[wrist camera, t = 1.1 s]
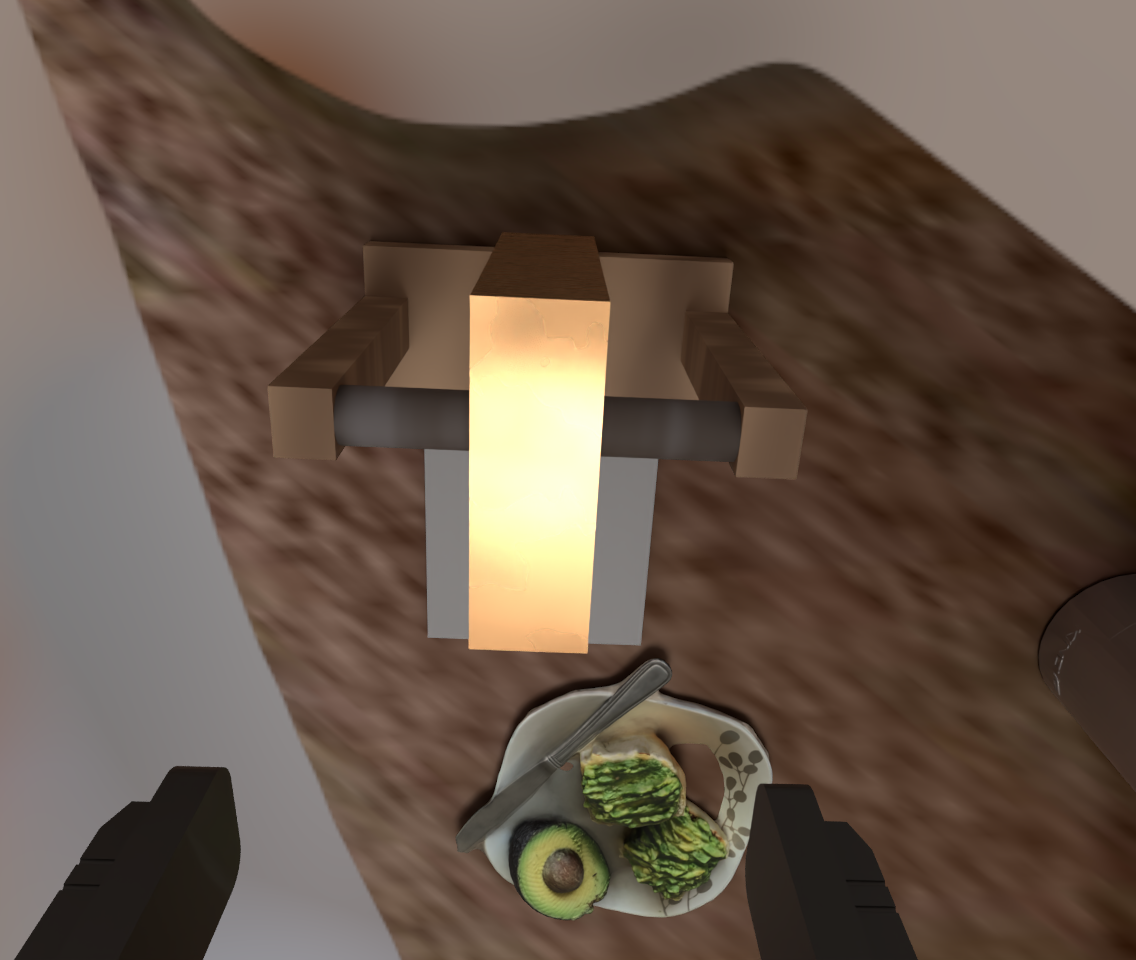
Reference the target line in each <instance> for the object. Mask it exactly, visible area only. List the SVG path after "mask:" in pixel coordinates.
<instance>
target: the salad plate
mask: <svg viewBox="0 0 1136 960" xmlns="http://www.w3.org/2000/svg"><path fill="white" fill-rule="evenodd" d="M671 677H672V670H671V667H670V666H669V664H668V663H666V662H665V661H664V660H662V659H659V658H655V659H650V660H648V661H646V662H645V663H643V664H642V665H641V666H640V667H638V668H637V669H636V670H635V671H634V672H633V673H632V674H630V675H629V676H628V677H627V678H626V679H624V680H623V681H622V682H619V683H617V684H614V685H611V686H606V687H598V688H591V689H581V690H574V691H571V692H568V693H566V694H565V695H562V696H559V697H557V698H555V699H553V700H551V701H549V702H547V703H545V704H543V705H541V706H538V707H536V708H534V709H532V710H530V711H529V712H528V714H527V715H526V717H525V718H524V719H523V720H522V721H521V722H520V723H519V724H518V726H517V727H516V729H515V731H514V733H513V735H512V737H511V739H510V741H509V744H508V746H507V748H506V751H505V754H504V758H503V763H502V767H501V770H500V773H499V776H498V780H497V784H496V787H495V791H494V794H493V796H492V798H491V799H490V800H489V801H488V802H487V803H486V804H485V805H484V806H483V807H481V808H480V809H479V810H478V811H477V812H476V813H475V814H474V815H473V816H472V817H471V818H470V819H469V820H468V822H467V823H466V824H465V825H464V826H463V828H462V829H461V830H460V832H459V833H458V834H457V836H456V843H457V845H458V847H457V848H458V852H465V853H469V852H470V851H472V850H474V849H479V850H481V851H483V852H484V854H485V855H486V856H487V858H488V859H489V861H490V862H491V864H492V865H493V867H494V868H495V869H496V871H497V872H498V873H499V874H500V875H501V876H502V877H503V878H504V879H506V880H507V881H508V882H510V883H512V884H513V885H514V886H515V888H516V890H517V892H518V893H519V895H520V896H521V897H522V899H523V900H524V901H525V902H526V903H527V904H528V905H529V906H530V907H531V908H532V909H534V910H535V911H537V912H539V913H541V914H543V915H545V916H547V917H551V918H554V919H560V920H576V919H579V918H581V917H582V916H583V915H584V914H591V913H592V912H593V910H594V909H593V905H595V906H599V907H602V908H604V909H609V910H616V911H620V912H624V913H629V914H634V915H639V916H647V917H670V916H677V915H681V914H684V913H687V912H690V911H692V910H694V909H696V908H698V907H700V906H702V905H704V904H706V903H707V902H710V901H712V900H713V899H714V898H715V897H716V896H718V895H719V894H720V893H721V892H723V890H724V888H725V887H726V886H727V885H728V883H729V882H730V881H731V879H732V877H733V875H734V874H735V871H736V869H737V867H738V865H739V863H740V860H741V858H742V856H743V853H744V851H745V848H746V846H747V843H748V841H749V835H750V828H751V822H752V815H753V809H754V802H755V796H756V791H757V787H758V785H759V784H761V783H765V784H772V775H773V774H772V769H771V765H770V762H769V754H768V751H767V750H766V749H765V747H764V746H763V744H762V743H761V741H760V739H759V738H758V737H757V735H756V734H755V732H754V730H753V729H752V728H751V727H750V726H749V725H748V724H746V723H744V722H742V721H740V720H738V719H736V718H734V717H732V716H729V715H727V714H724V713H722V712H720V711H718V710H715V709H712V708H709V707H707V706H704V705H701V704H698V703H694V702H689V701H684V700H680V699H676V698H673V697H670V696H667V695H664V694H662V693H660V692H659V691H658V690H659V689H660V688H662V687H663V686H664V685H665V684H667V683H668V682H669V681H670V679H671ZM686 743H694V744H705V745H707V746H708V747H709V748H710V750H711V751H712V752H713V753H714V755H715V756H716V758H717V760H718V762H719V764H720V768H721V770H722V773H723V776H724V786H725V787H724V798H723V802H722V805H721V809H720V812H719V815H718V818H717V819H716V820H712V819H711V818H710V817H709V816H708V815H707V813H706V812H704V811H703V810H701V809H700V808H699V807H698V806H696V805H695V804H693V803H692V802H690V801H688V800H687V799H686V779H685V774H684V772H683V770H682V769H681V767H680V765H679V764H678V763H677V761H676V760H675V758H674V757H673V756H672V755H671V754H670V750H669V749H670V748H671V747H672V745H675V744H686ZM566 762H570V763H571V764H573V768H572V769H571V770H569V771H563V770H561V769H560V767H562V766H563V765H564V764H565V763H566Z"/></svg>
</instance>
